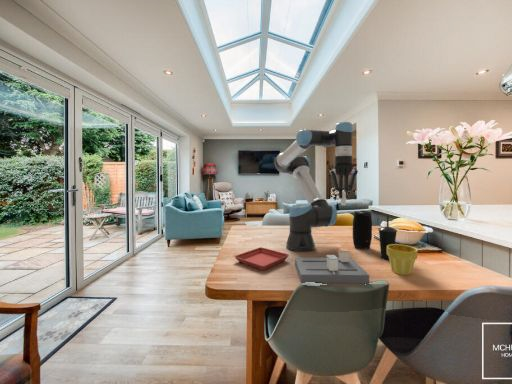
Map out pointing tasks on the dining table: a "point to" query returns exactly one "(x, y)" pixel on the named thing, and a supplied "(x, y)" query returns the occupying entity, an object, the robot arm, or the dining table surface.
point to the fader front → (332, 263)
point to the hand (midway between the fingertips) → (343, 205)
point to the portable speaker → (362, 229)
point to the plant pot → (402, 258)
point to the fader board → (320, 273)
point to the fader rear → (343, 254)
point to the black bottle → (386, 239)
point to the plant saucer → (261, 258)
